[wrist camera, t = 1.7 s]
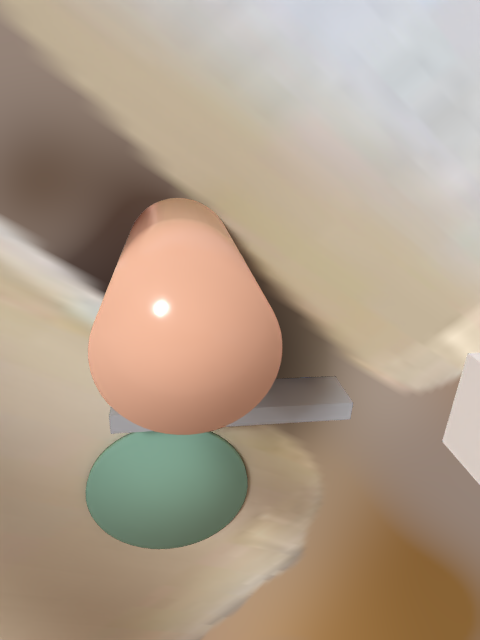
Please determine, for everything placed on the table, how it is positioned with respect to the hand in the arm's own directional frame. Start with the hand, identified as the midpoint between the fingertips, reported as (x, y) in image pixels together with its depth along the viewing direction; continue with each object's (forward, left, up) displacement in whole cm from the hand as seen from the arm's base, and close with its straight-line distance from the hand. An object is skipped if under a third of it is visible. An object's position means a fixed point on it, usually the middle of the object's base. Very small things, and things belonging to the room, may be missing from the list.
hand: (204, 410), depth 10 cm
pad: (-1, -17, -14) cm, 22 cm away
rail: (+3, -9, -14) cm, 17 cm away
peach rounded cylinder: (0, 0, -14) cm, 14 cm away
